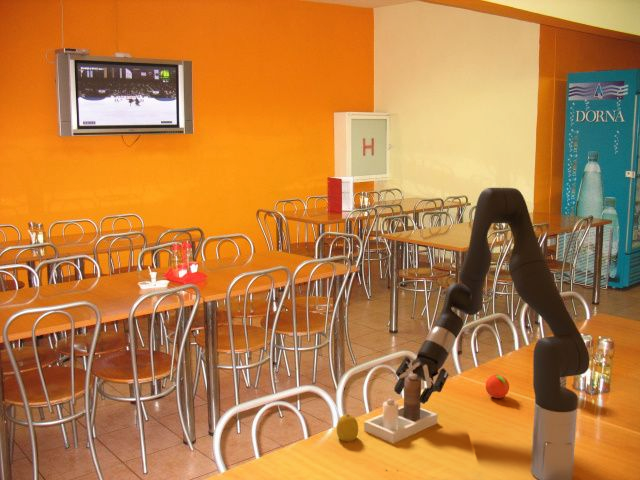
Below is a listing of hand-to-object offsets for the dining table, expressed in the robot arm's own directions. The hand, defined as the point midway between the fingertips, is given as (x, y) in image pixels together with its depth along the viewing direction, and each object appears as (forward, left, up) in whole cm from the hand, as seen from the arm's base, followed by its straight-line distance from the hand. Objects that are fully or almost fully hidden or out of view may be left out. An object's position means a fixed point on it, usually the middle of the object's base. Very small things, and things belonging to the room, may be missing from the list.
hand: (408, 397), depth 183 cm
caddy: (-2, +2, -9) cm, 9 cm away
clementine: (+24, -28, -9) cm, 38 cm away
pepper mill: (+1, -1, -7) cm, 7 cm away
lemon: (-10, +16, -9) cm, 21 cm away
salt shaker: (-5, +5, -7) cm, 10 cm away
